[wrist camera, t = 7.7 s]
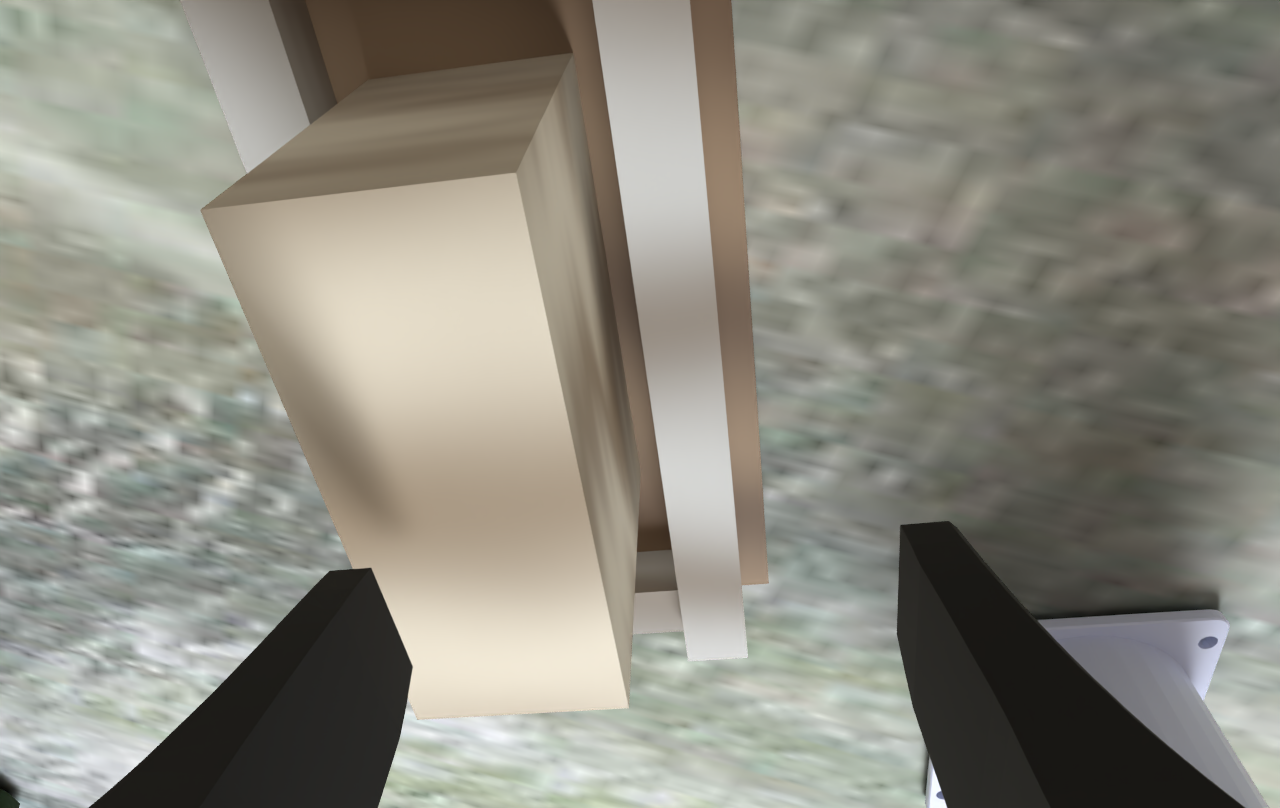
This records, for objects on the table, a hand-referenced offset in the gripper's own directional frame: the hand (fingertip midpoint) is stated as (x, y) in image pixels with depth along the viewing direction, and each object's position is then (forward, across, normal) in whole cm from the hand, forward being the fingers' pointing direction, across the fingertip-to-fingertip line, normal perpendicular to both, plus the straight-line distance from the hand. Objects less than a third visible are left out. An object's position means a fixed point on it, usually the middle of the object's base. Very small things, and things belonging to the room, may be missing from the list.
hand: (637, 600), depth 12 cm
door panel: (+9, +3, -1) cm, 9 cm away
